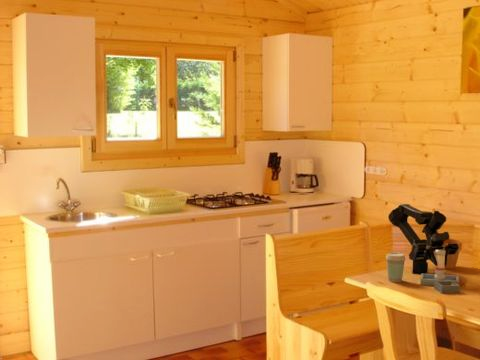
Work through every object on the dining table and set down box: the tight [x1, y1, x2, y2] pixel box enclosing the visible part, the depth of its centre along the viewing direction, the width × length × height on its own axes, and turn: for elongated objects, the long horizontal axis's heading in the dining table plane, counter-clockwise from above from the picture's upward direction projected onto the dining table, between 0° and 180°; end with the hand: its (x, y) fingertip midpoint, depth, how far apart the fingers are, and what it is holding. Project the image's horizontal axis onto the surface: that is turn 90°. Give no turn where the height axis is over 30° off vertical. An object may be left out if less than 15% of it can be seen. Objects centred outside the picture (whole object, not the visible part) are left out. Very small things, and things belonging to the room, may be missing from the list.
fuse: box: [434, 249, 446, 280], centre depth 293 cm, size 4×4×13 cm
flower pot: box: [434, 237, 463, 270], centre depth 324 cm, size 14×14×13 cm
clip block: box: [433, 281, 461, 294], centre depth 281 cm, size 8×8×3 cm
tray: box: [419, 273, 460, 287], centre depth 294 cm, size 16×11×2 cm
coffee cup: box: [385, 252, 406, 283], centre depth 298 cm, size 8×8×12 cm
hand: (441, 265), depth 292 cm, fingers closed on fuse, 4 cm apart
